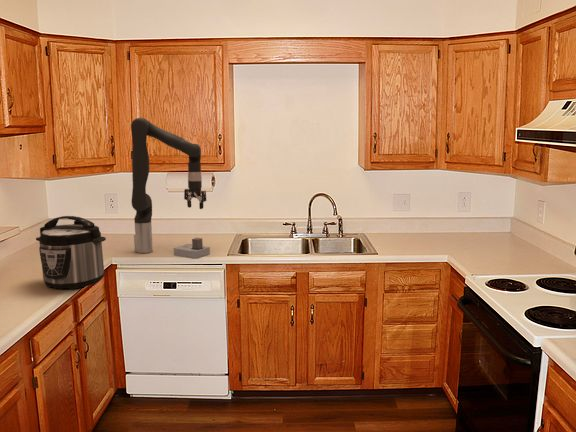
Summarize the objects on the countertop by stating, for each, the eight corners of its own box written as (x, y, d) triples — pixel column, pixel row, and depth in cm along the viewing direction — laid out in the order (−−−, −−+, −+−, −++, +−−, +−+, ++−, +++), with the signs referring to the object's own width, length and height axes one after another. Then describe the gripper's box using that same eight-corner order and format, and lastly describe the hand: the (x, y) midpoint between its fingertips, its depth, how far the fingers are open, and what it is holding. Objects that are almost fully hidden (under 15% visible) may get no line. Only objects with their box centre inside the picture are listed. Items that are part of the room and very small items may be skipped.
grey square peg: (192, 253, 312) (192, 238, 311) (197, 251, 315) (196, 237, 314) (198, 254, 310) (197, 239, 309) (202, 252, 314) (202, 238, 312)
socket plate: (173, 255, 314) (173, 247, 313) (187, 250, 324) (187, 243, 323) (196, 258, 306) (196, 251, 305) (209, 253, 316) (209, 246, 315)
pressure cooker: (30, 282, 266) (24, 216, 260) (87, 269, 286) (82, 208, 280) (57, 296, 245) (51, 225, 239) (116, 282, 265) (112, 216, 259)
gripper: (180, 179, 316) (181, 207, 319) (200, 181, 309) (200, 210, 312) (189, 178, 323) (190, 206, 326) (208, 179, 315) (209, 208, 318)
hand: (195, 208), depth 319 cm, fingers open, 8 cm apart
